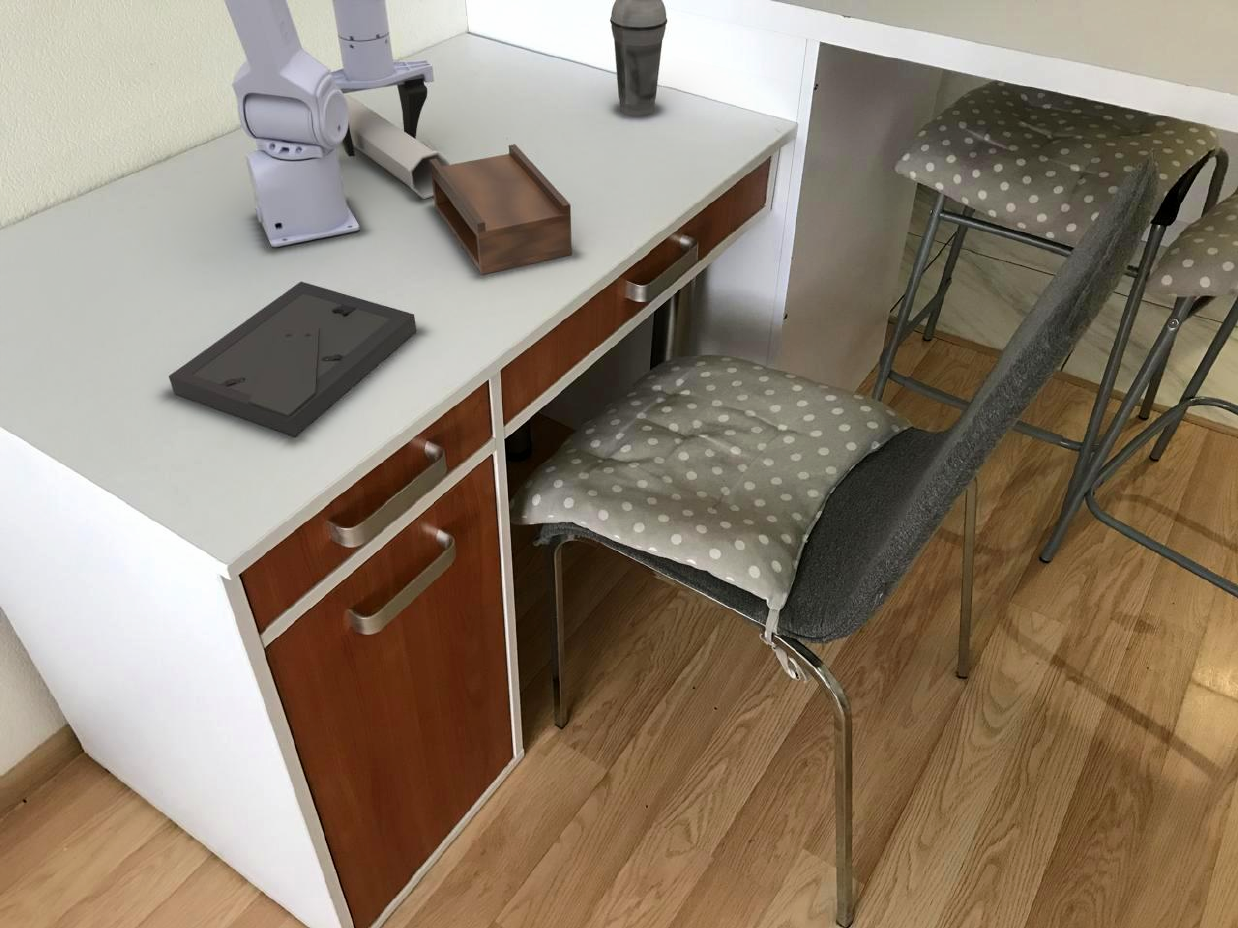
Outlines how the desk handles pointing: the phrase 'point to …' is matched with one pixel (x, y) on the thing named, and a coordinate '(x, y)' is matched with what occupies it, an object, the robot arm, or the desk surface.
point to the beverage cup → (638, 52)
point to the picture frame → (294, 357)
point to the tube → (392, 148)
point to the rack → (502, 211)
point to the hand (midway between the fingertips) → (380, 147)
